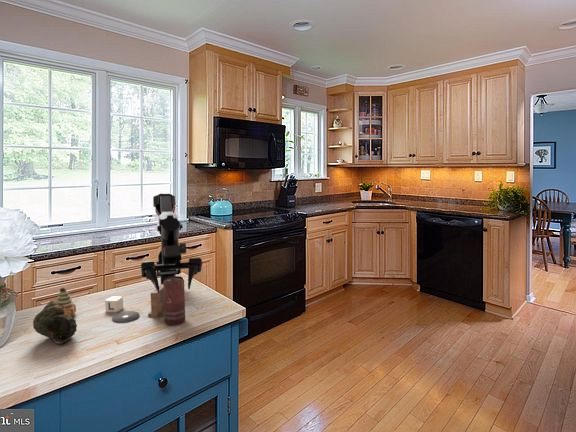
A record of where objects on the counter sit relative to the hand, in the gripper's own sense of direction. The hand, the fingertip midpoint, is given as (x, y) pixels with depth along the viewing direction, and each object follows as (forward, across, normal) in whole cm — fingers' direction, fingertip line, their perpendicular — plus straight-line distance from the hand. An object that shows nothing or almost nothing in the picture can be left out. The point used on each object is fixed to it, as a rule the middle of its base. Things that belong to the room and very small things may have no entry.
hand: (174, 290), depth 116 cm
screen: (+1, -4, +13) cm, 13 cm away
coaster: (+2, -15, +12) cm, 19 cm away
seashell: (+10, -32, +4) cm, 33 cm away
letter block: (-4, -18, +18) cm, 26 cm away
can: (+8, 0, +6) cm, 10 cm away
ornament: (-3, -34, +17) cm, 38 cm away
